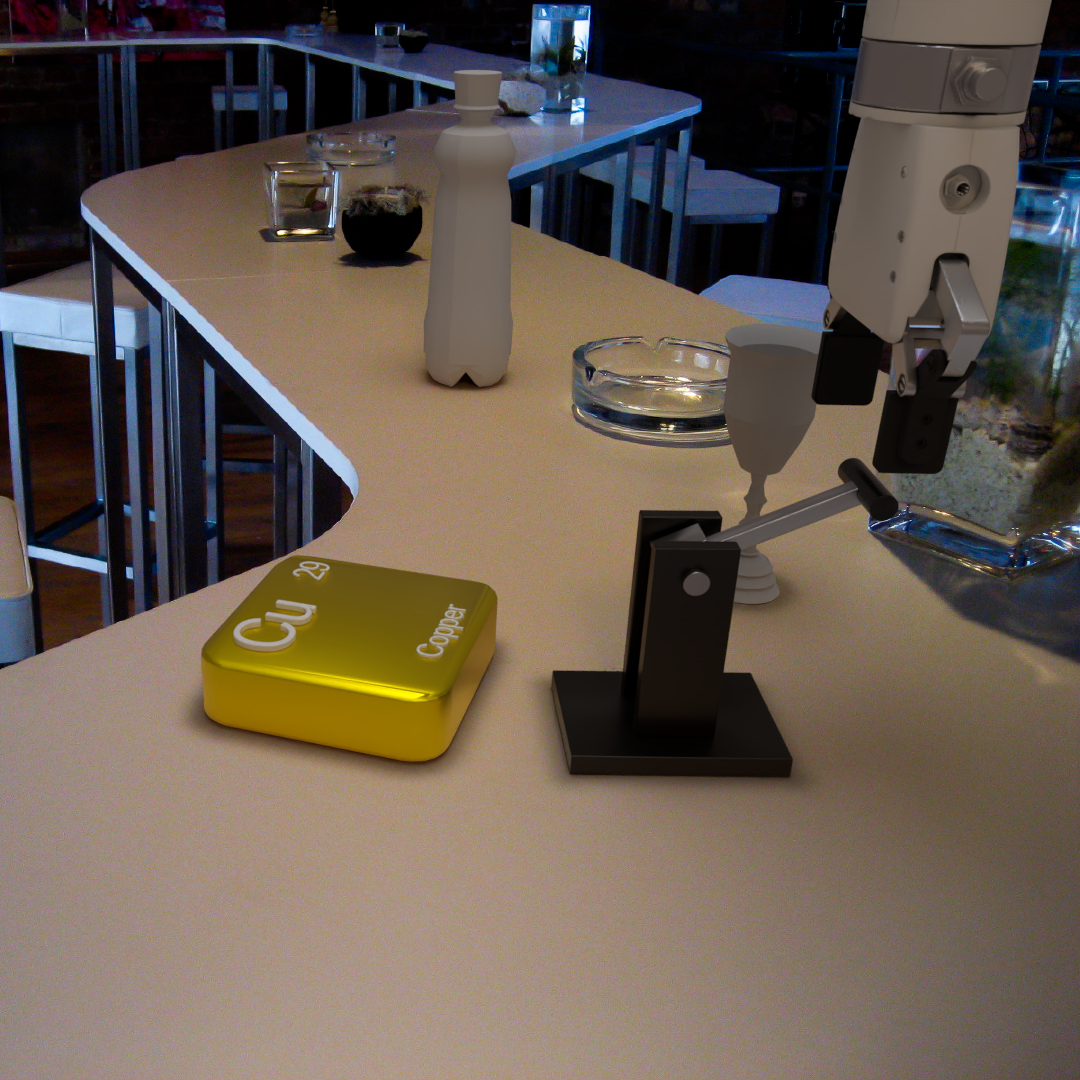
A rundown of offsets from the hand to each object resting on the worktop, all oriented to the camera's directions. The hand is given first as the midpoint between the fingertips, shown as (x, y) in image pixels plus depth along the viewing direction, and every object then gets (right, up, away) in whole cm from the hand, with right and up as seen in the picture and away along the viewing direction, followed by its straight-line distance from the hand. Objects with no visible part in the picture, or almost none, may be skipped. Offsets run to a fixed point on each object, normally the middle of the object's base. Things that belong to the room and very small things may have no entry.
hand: (871, 435), depth 65 cm
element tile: (-27, -14, +13) cm, 33 cm away
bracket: (-9, -16, +8) cm, 20 cm away
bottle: (-15, +11, +67) cm, 70 cm away
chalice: (+1, -9, +24) cm, 26 cm away
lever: (-4, -6, +3) cm, 7 cm away
